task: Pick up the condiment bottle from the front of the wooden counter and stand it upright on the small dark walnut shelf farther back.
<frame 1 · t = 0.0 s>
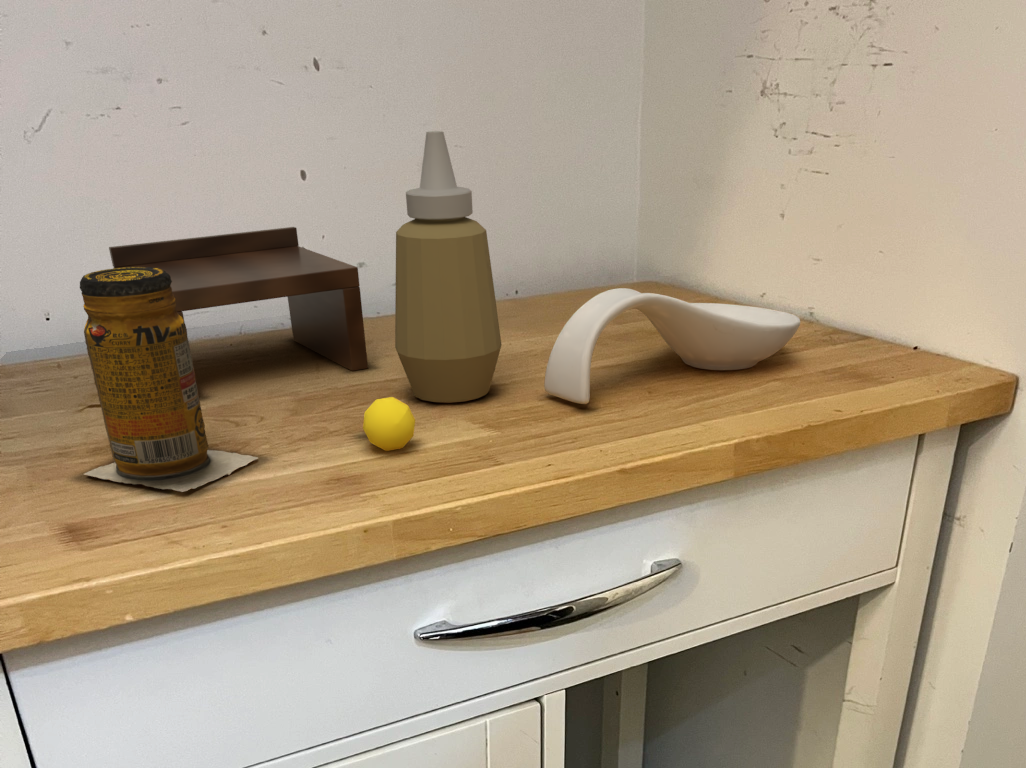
walnut shelf: (250, 367, 93), on the worktop
squeeze bottle: (451, 396, 85), on the worktop
spoon rest: (674, 377, 88), on the worktop
condiment: (173, 471, 72), on the worktop
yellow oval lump: (385, 446, 75), on the worktop
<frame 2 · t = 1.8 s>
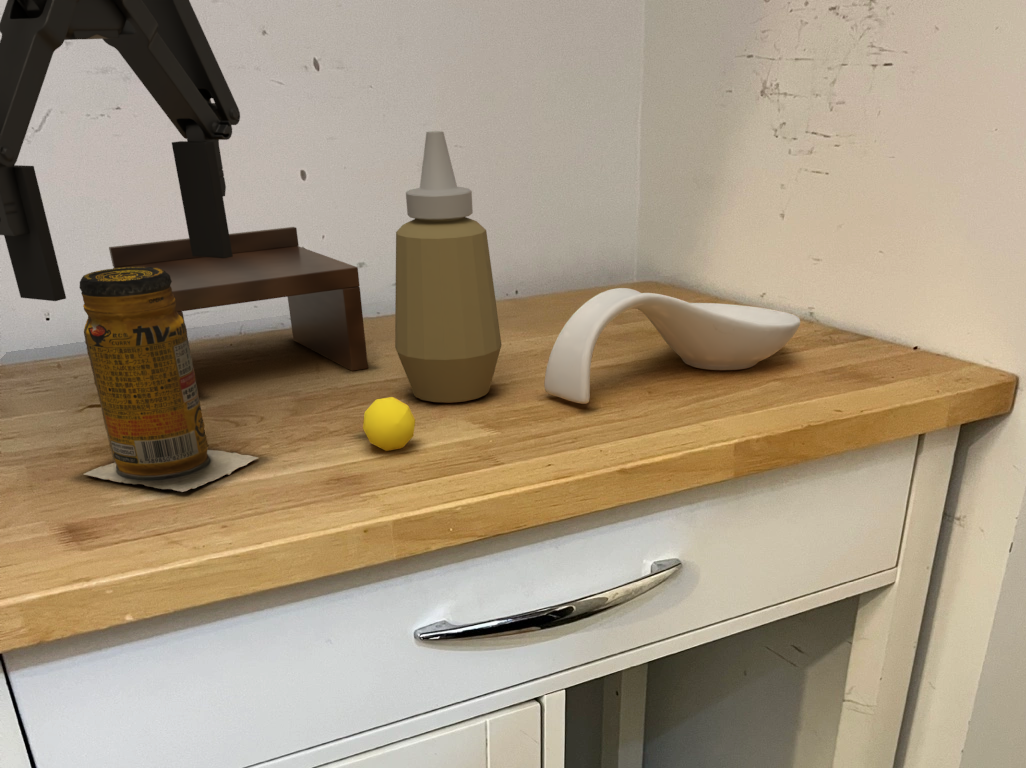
hand: (134, 276, 65), 12 cm above the worktop, tool pointing down, fingers open, 13 cm apart
nothing on the worktop moved.
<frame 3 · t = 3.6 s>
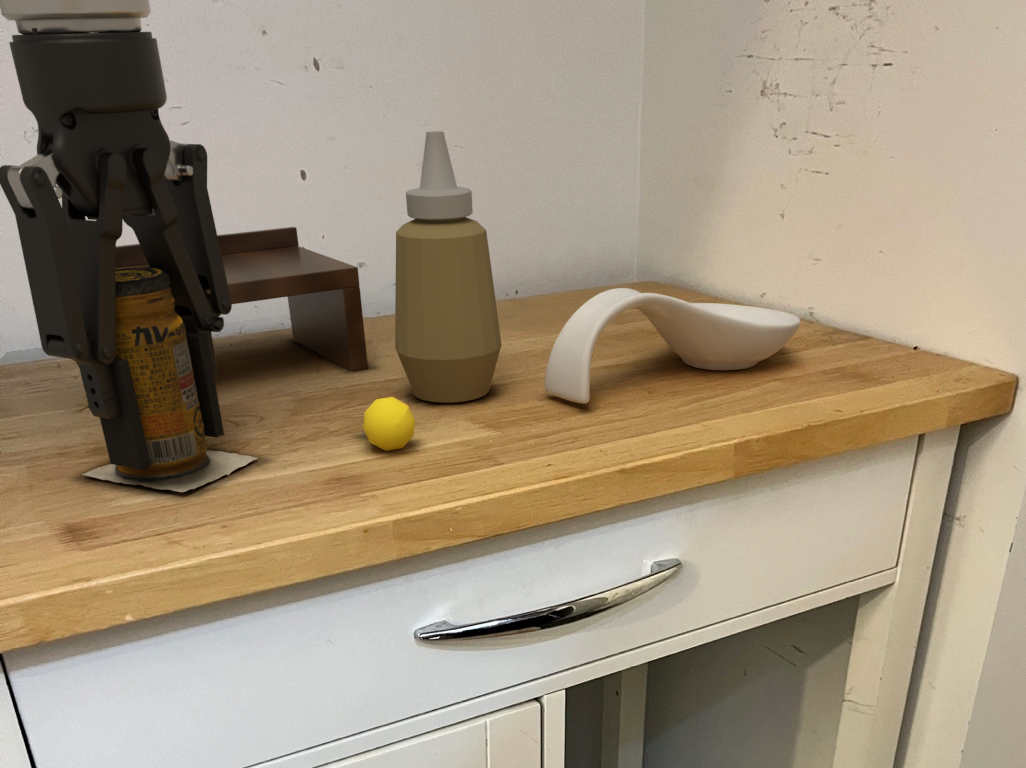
hand: (169, 448, 71), 1 cm above the worktop, tool pointing down, fingers closed on condiment, 6 cm apart
condiment: (172, 472, 72), on the worktop, touching gripper
everything else where it was.
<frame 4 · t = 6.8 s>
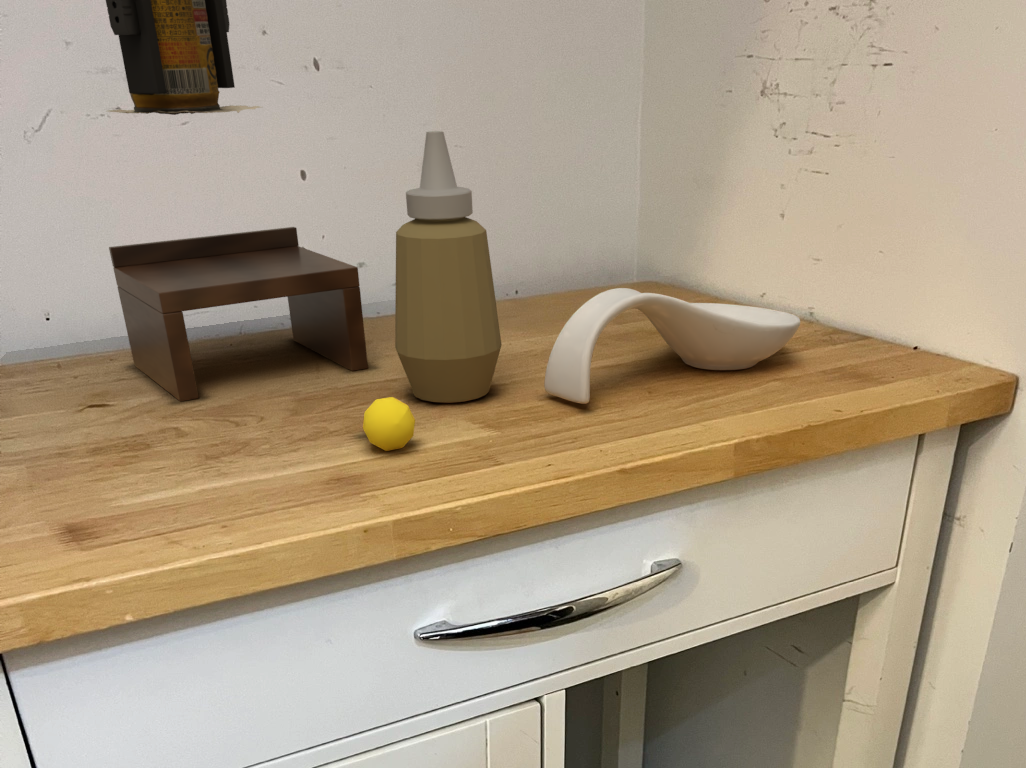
hand: (183, 89, 76), 21 cm above the worktop, tool pointing down, fingers closed on condiment, 6 cm apart
condiment: (186, 115, 77), point 19 cm above the worktop, touching gripper
everything else where it was.
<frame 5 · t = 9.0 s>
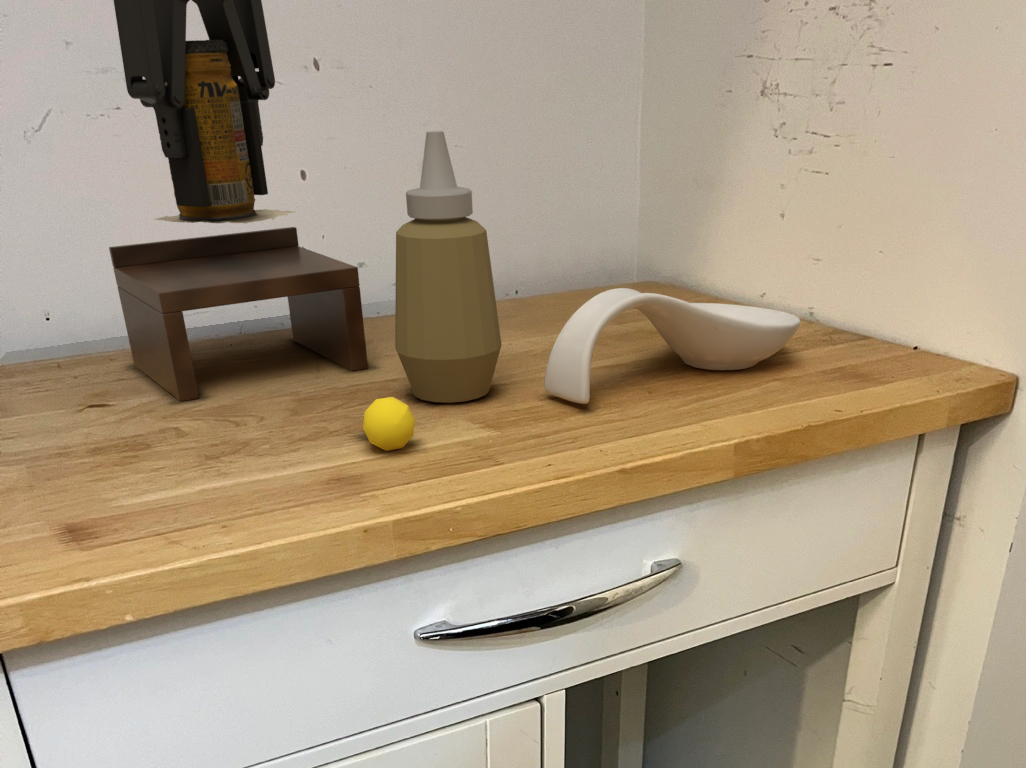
hand: (223, 199, 86), 13 cm above the worktop, tool pointing down, fingers closed on condiment, 6 cm apart
condiment: (226, 221, 86), point 11 cm above the worktop, touching gripper
everything else where it was.
when the fingers open (9 cm above the worktop, at t = 10.3 s): condiment stays where it is, resting on walnut shelf.
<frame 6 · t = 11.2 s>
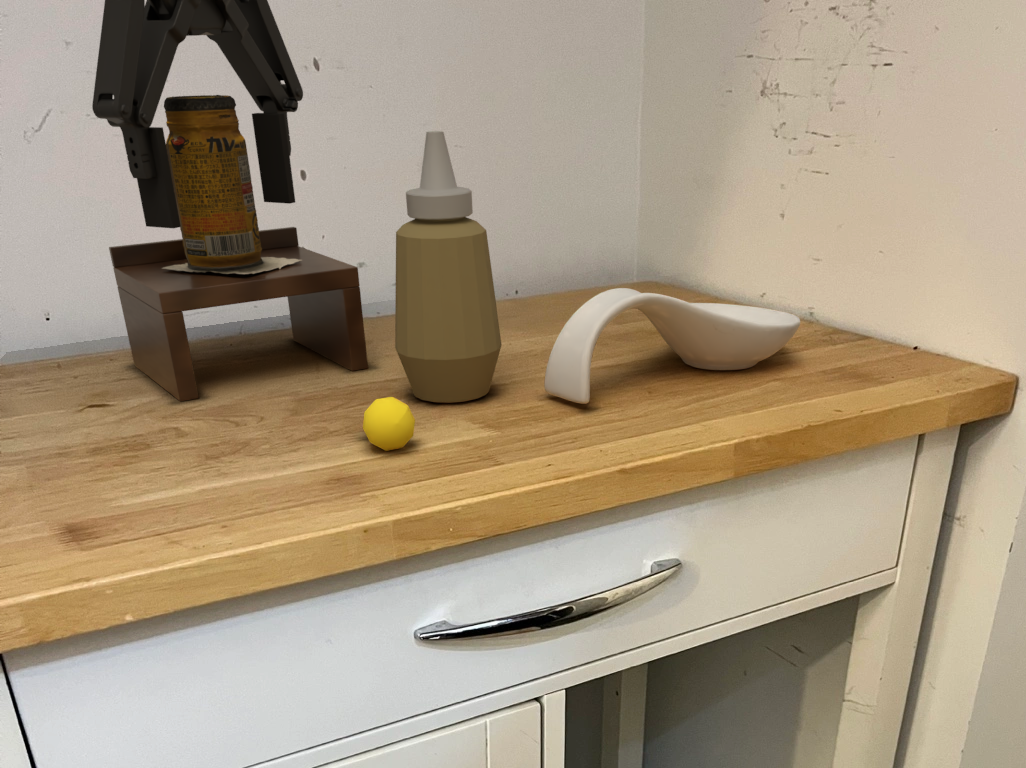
hand: (225, 214, 86), 12 cm above the worktop, tool pointing down, fingers open, 13 cm apart
condiment: (233, 269, 88), point 8 cm above the worktop, touching walnut shelf
everything else where it was.
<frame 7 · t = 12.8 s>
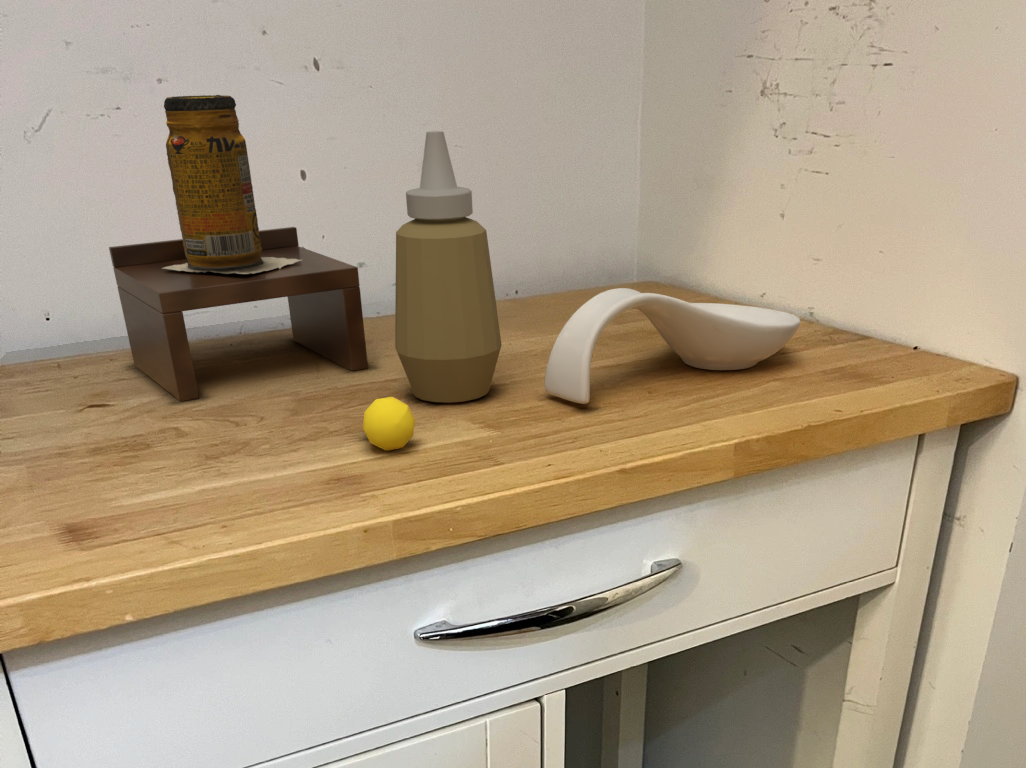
nothing on the worktop moved.
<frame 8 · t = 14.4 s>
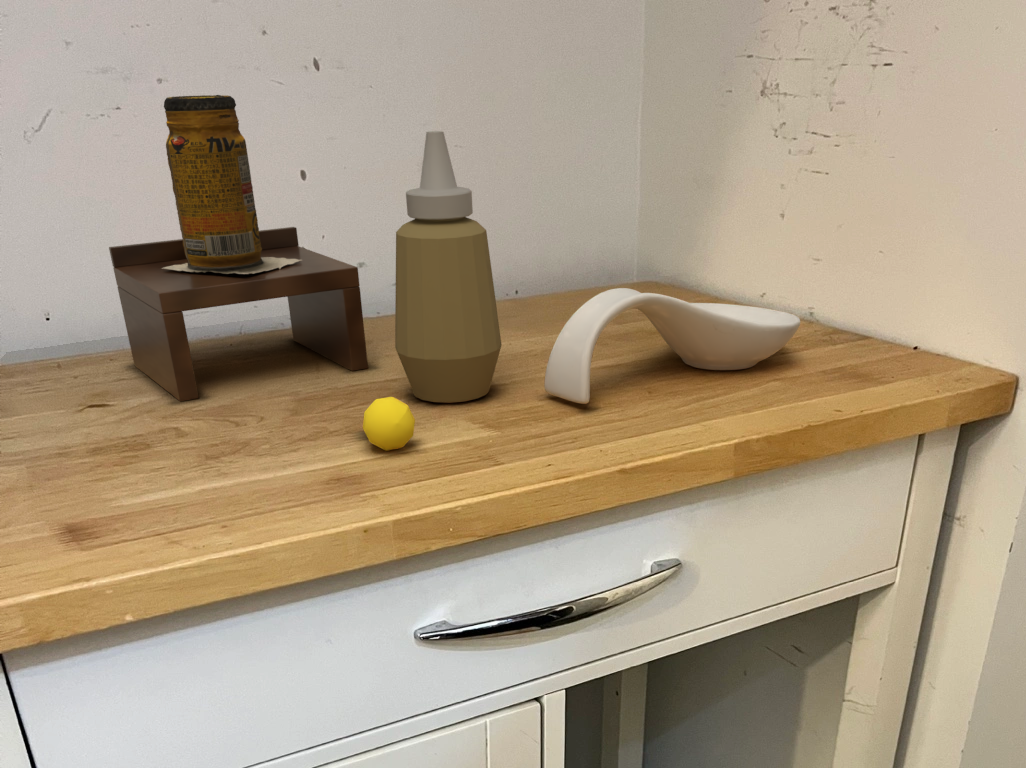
nothing on the worktop moved.
at the end: condiment inside the target area on the walnut shelf (0.1 cm from its centre), point 7.8 cm above the walnut shelf's base; condiment tilted 0°; the gripper is holding nothing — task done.
